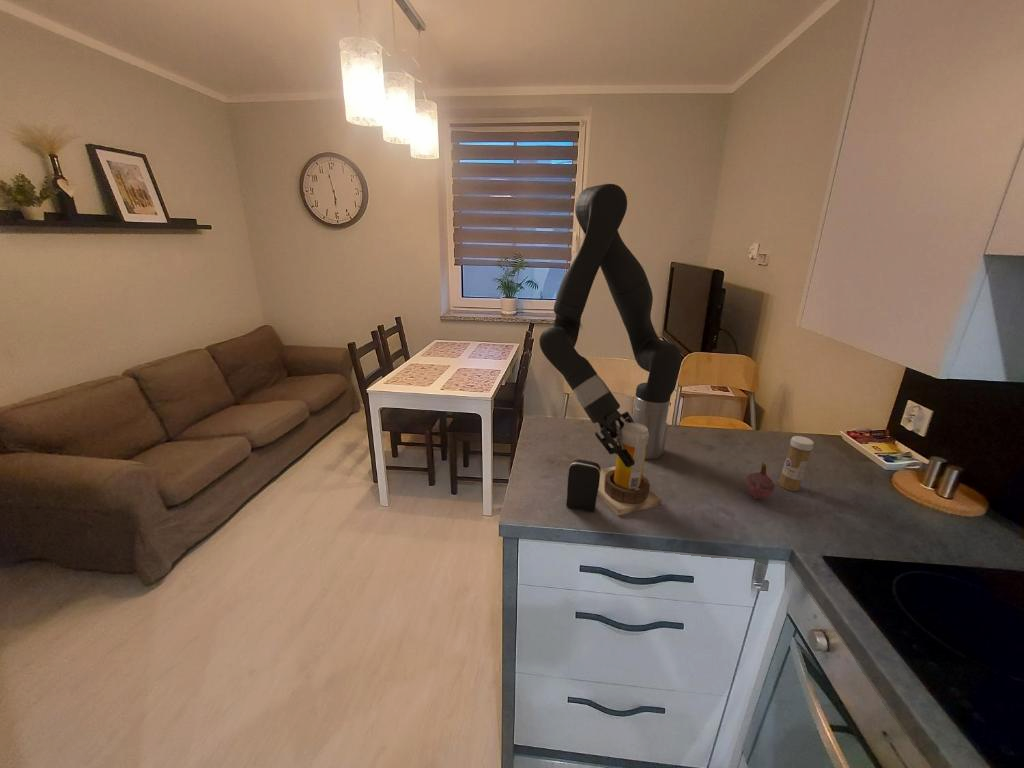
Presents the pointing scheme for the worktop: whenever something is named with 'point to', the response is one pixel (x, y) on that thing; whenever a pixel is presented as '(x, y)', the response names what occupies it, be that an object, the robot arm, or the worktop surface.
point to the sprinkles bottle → (796, 463)
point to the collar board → (625, 506)
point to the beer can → (636, 447)
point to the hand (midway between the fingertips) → (637, 459)
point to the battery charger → (583, 485)
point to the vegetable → (760, 484)
